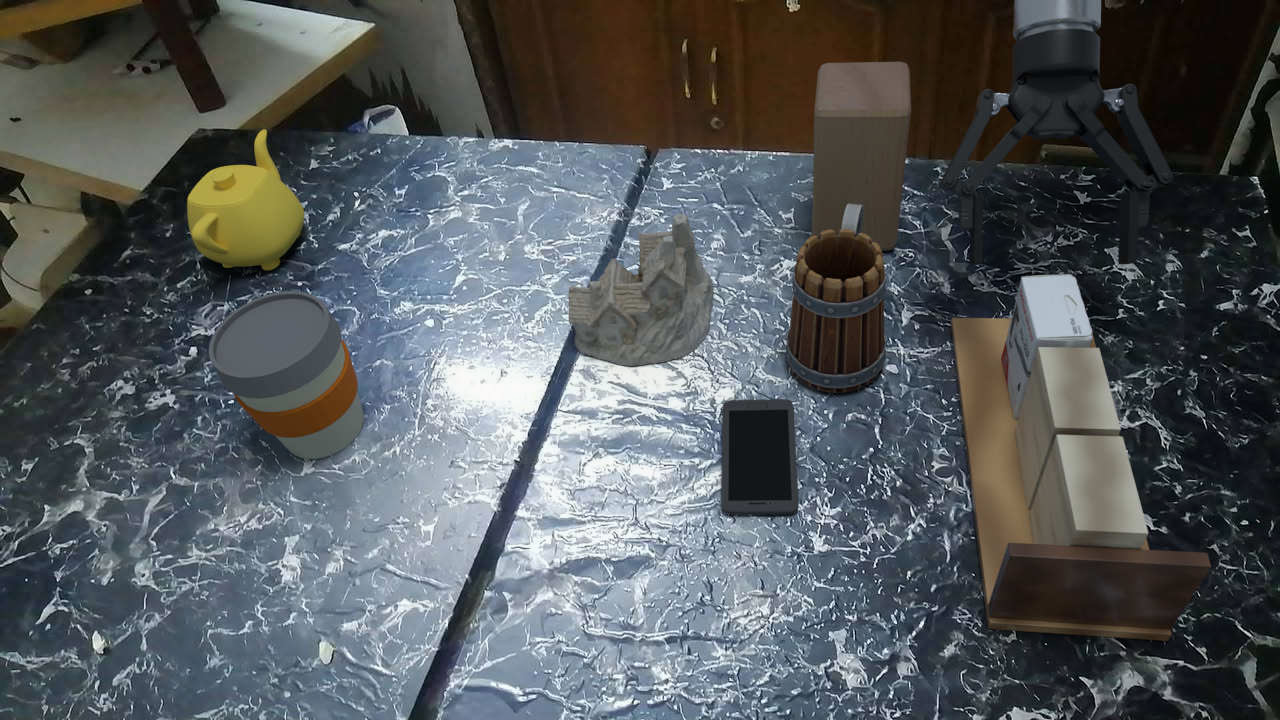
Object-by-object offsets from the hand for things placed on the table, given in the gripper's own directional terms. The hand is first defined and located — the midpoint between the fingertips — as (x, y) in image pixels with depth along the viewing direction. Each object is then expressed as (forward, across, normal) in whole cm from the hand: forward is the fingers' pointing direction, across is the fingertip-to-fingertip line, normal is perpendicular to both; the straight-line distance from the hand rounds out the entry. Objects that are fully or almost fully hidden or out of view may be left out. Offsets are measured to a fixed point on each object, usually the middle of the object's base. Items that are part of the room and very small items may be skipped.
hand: (1050, 264), depth 88 cm
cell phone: (+19, +27, +1) cm, 33 cm away
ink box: (+12, 0, -5) cm, 13 cm away
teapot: (-4, +96, -23) cm, 99 cm away
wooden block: (-6, +17, -25) cm, 31 cm away
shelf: (+19, 0, 0) cm, 19 cm away
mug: (+8, +19, -11) cm, 23 cm away
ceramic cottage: (+5, +41, -14) cm, 44 cm away
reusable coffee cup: (+18, +75, -1) cm, 77 cm away
